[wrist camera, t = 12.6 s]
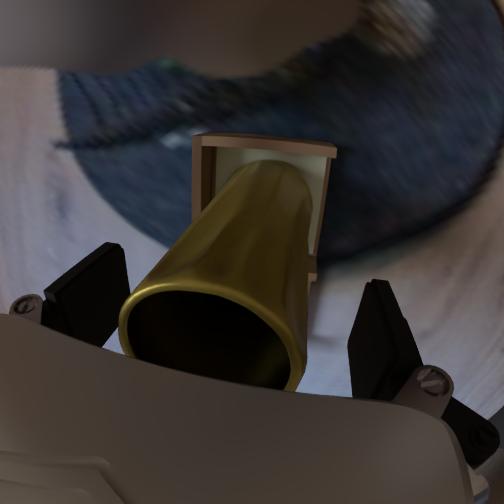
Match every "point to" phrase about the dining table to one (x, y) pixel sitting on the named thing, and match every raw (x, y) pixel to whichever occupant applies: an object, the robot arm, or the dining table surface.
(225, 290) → the vase
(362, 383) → the robot arm
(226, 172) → the wooden compartment tray
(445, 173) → the dining table surface
